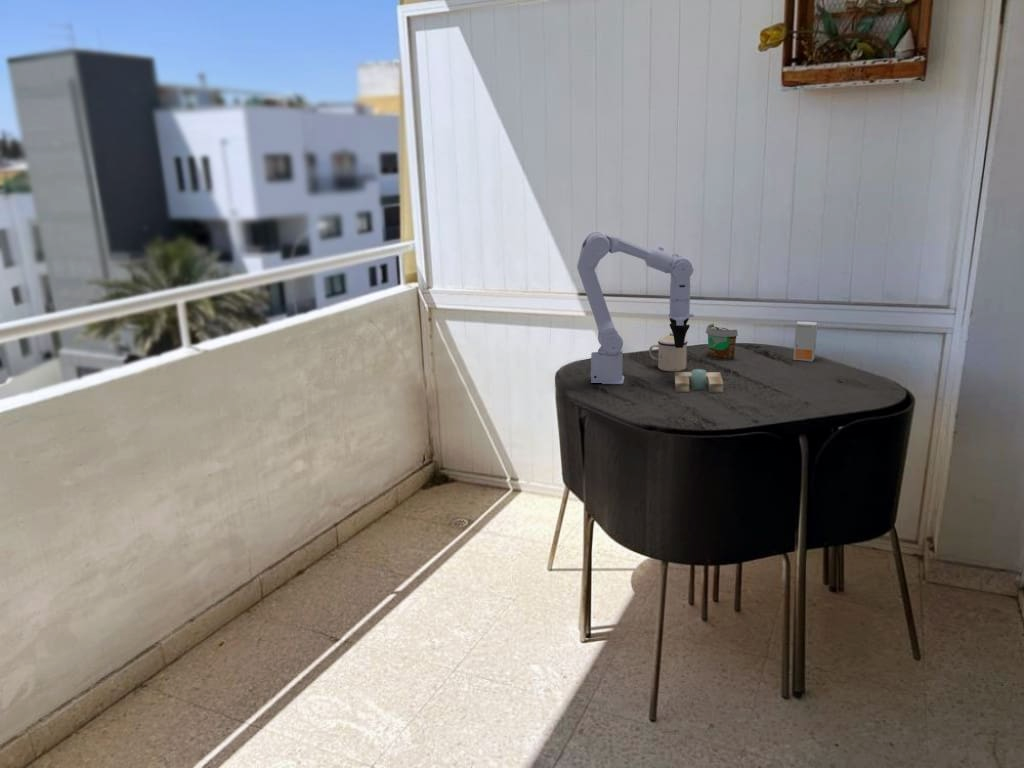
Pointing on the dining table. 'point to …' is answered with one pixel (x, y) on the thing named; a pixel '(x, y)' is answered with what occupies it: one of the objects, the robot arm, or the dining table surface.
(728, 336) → the food container
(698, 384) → the teal peg
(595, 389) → the dining table surface
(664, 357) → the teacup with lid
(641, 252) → the robot arm
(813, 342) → the skincare box
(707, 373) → the notched board
